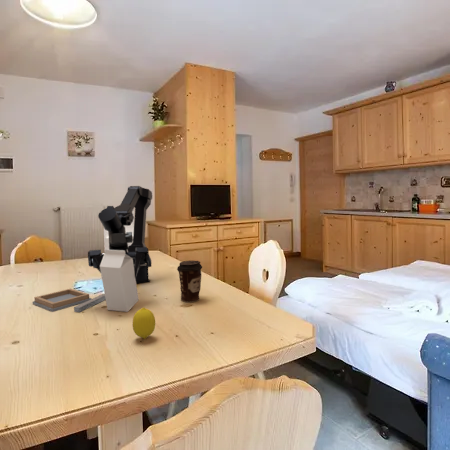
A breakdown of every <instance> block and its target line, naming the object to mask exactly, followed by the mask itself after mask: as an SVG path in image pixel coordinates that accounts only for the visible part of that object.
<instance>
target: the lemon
mask: <svg viewBox="0 0 450 450" xmlns="http://www.w3.org/2000/svg"><path fill="white" fill-rule="evenodd" d="M155 327H156V318H155V315H154V313H153V311H151V310H150V309H148V308H146V307H141V308H140V309H139V310H136V312H135V313H134V315H133V318H132V329H133V333H135V335H136V336H137V337H139V338H142V339H144V340H147V338H148V337H149V336H151V335H152V334H153V333H154V331H155Z"/></svg>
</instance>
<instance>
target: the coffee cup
mask: <svg viewBox="0 0 450 450" xmlns="http://www.w3.org/2000/svg"><path fill="white" fill-rule="evenodd" d="M202 269H203V266H202V264H201V261H199V260H185V261H180V262H179V265H178V266H177V268H176V270H177V272H178V276H179V282H180V283H179V284H180V286H179V287H180V295H181V296H180V301H181V302H183V303H194V302H197V301H199V300H200V291H201V286H202V285H201V282H202Z"/></svg>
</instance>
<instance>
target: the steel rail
mask: <svg viewBox="0 0 450 450" xmlns="http://www.w3.org/2000/svg"><path fill="white" fill-rule="evenodd" d="M104 301H106V298H105V293H104V294H103V293H102V294H99V295H98V296H95V297H93V298H92V299H91V300H89V301H86V302H84V303H81V304H78V305H74V306H73V311H74V312H75V313H81V312H84V311H85V310H88V309H90V308H91V307H93V306H96V305H97V304H99V303H102V302H104Z"/></svg>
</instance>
